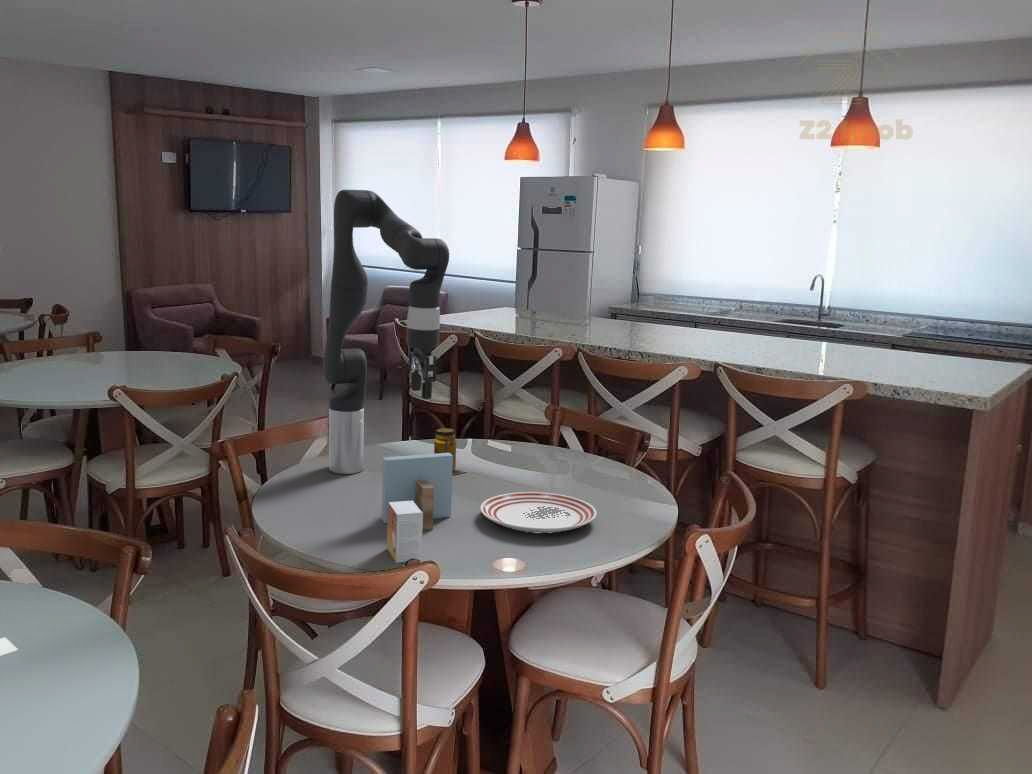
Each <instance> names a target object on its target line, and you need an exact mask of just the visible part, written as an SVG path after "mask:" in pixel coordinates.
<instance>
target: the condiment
mask: <svg viewBox="0 0 1032 774" xmlns="http://www.w3.org/2000/svg"><path fill="white" fill-rule="evenodd" d="M437 453H450V454H452V455H453V466H452V476H455V475H459V474H463V473H467V472H468V471H467V470H464V469H460V468H457V466H456V464H457V440H456V431H455V430H454V429H453V428H447V427H446V428H445V427H444V428H443V427H441V428H438V429H436V430H435V438H434V441H433V454H437Z"/></svg>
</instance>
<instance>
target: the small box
mask: <svg viewBox="0 0 1032 774" xmlns="http://www.w3.org/2000/svg"><path fill="white" fill-rule="evenodd" d="M386 524H387V526H386V527H387V528H386V530H387V531H386V532H387V533H386V535H387V536H386V549H387V551H388V552H389V554H390V555H391V557H392V559H393V560H394V562H395V563H396V564H398V563H399V564H400V563H405V562H406V561H407V560H408V559H411V558H416V559H418V560H419V561H422V555H423V554H422V552H423V549H422V547H423V531H422V527H423V513H422V511H421V510H420V509H419V508H418V507H417V505H416V504H415V503H414V501H399V502H388V523H386ZM406 563H407V562H406Z"/></svg>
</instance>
